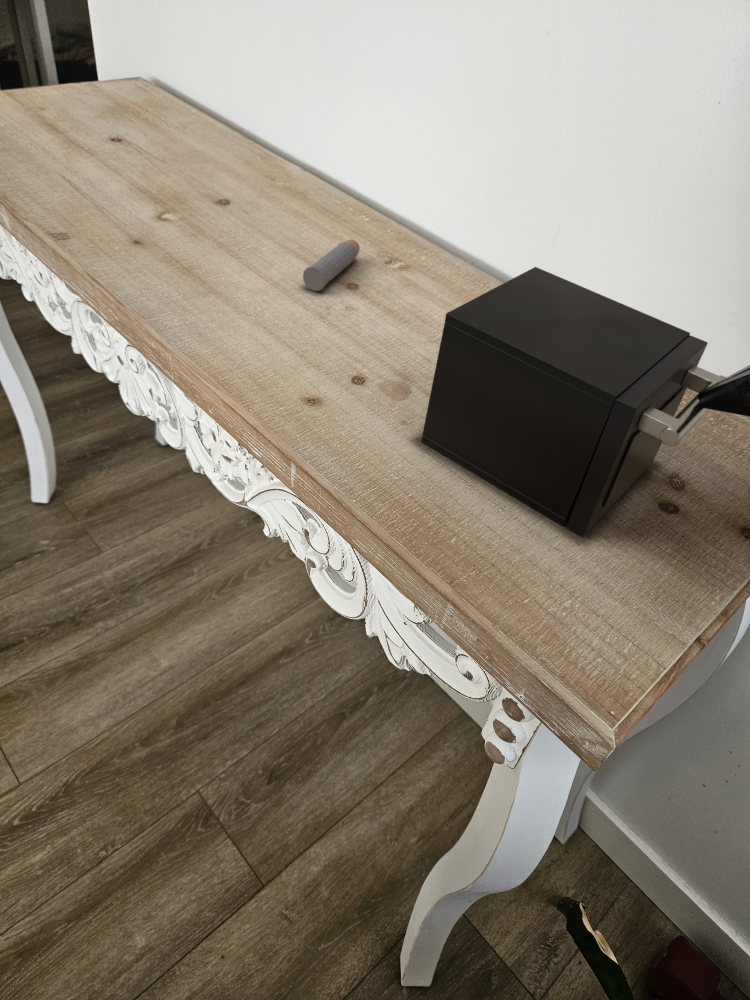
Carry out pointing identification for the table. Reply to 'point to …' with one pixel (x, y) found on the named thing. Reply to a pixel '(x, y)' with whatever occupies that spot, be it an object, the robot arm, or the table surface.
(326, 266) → the bullet cartridge
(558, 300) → the oven
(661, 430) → the oven door
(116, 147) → the table surface
